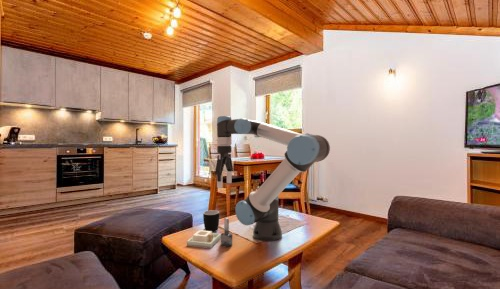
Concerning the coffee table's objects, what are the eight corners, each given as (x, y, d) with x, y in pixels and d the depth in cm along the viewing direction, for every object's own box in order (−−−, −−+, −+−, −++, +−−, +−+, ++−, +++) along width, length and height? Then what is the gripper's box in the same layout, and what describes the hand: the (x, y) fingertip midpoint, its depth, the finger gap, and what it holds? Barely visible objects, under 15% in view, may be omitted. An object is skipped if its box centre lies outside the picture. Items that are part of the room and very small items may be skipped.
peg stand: (234, 242, 122) (233, 216, 122) (230, 247, 117) (229, 220, 116) (223, 241, 123) (223, 215, 123) (219, 246, 118) (218, 219, 118)
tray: (221, 238, 128) (221, 233, 128) (210, 248, 116) (210, 243, 116) (199, 235, 131) (198, 231, 131) (186, 245, 119) (186, 241, 119)
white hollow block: (193, 242, 121) (192, 235, 121) (199, 236, 128) (199, 230, 128) (209, 243, 119) (209, 236, 119) (214, 238, 126) (214, 231, 126)
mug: (221, 231, 137) (221, 213, 136) (205, 234, 133) (204, 215, 133) (216, 224, 148) (216, 208, 148) (201, 226, 145) (201, 209, 144)
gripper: (226, 144, 144) (226, 181, 144) (207, 146, 120) (208, 189, 120) (238, 144, 142) (238, 181, 142) (222, 146, 118) (222, 190, 118)
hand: (224, 185), depth 131 cm, fingers open, 13 cm apart
